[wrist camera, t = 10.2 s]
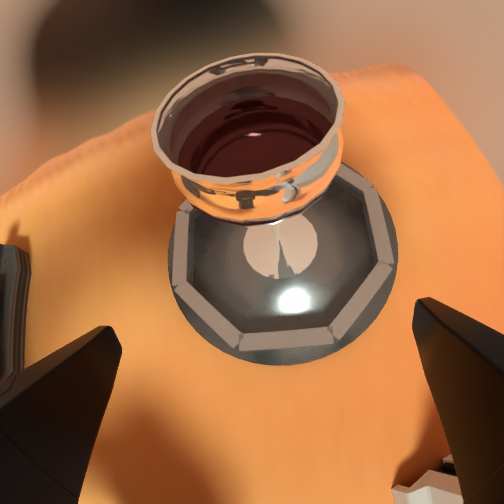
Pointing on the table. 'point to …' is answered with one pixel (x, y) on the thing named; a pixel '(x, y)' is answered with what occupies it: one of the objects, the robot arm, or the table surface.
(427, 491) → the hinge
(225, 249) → the rosette plate
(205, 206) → the wineglass
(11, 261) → the zipper pull
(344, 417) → the table surface
